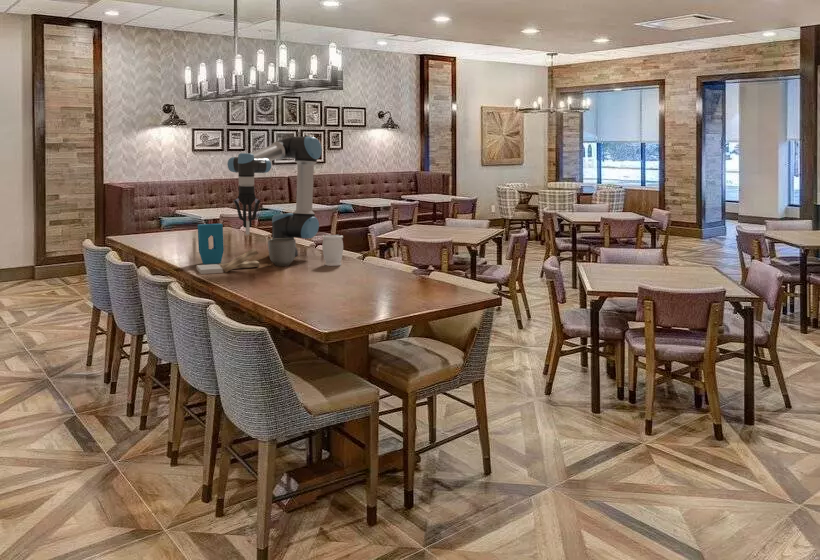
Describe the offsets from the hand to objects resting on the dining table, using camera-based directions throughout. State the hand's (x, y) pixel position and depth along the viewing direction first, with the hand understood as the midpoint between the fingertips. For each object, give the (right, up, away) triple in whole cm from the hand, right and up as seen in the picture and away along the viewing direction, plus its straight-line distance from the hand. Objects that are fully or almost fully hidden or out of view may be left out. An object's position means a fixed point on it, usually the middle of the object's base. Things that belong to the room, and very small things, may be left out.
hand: (247, 234), depth 374 cm
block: (-23, -14, +20) cm, 33 cm away
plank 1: (-3, -14, -3) cm, 14 cm away
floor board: (-17, -18, -4) cm, 25 cm away
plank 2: (-5, -16, +5) cm, 18 cm away
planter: (+15, -15, +15) cm, 25 cm away
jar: (+40, -15, +16) cm, 46 cm away
